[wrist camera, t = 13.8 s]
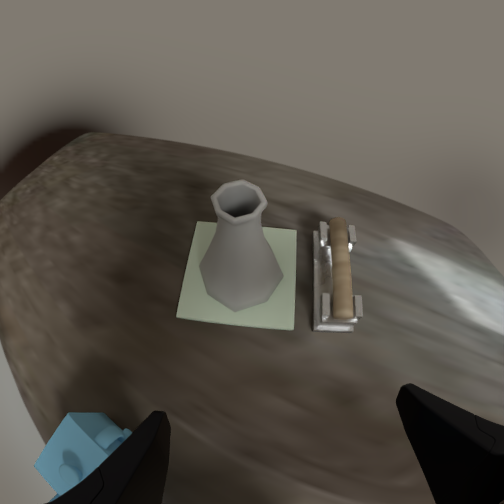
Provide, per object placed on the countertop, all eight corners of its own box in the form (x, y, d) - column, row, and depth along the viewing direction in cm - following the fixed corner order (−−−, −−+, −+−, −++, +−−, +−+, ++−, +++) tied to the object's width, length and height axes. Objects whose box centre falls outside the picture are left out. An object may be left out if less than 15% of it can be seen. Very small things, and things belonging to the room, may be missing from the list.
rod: (349, 320, 21) (356, 314, 19) (330, 319, 21) (336, 313, 19) (343, 228, 25) (348, 218, 24) (327, 226, 25) (331, 216, 24)
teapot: (108, 518, 12) (69, 544, 5) (62, 475, 13) (14, 485, 7) (171, 446, 17) (138, 465, 11) (117, 400, 19) (68, 397, 12)
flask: (186, 265, 25) (158, 192, 16) (248, 226, 27) (249, 146, 18) (232, 327, 22) (223, 277, 13) (297, 279, 24) (324, 208, 16)
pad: (292, 330, 22) (293, 329, 22) (177, 317, 23) (176, 316, 22) (295, 232, 27) (296, 230, 27) (197, 223, 28) (197, 221, 27)
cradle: (351, 332, 22) (364, 323, 20) (312, 331, 22) (321, 322, 20) (345, 237, 27) (354, 220, 25) (312, 234, 27) (318, 216, 25)
